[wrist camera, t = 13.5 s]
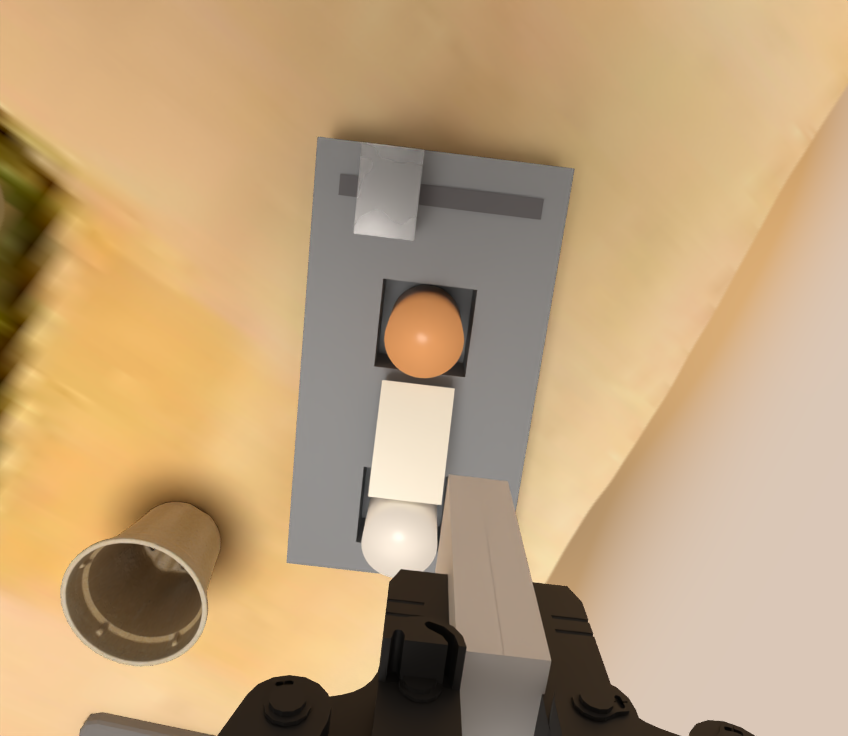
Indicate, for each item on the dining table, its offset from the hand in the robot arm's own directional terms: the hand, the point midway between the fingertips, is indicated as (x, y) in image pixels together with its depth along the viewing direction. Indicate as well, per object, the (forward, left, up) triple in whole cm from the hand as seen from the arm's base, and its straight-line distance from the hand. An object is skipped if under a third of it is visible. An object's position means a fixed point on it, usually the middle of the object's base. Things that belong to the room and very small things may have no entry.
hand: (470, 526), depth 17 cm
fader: (-4, +8, -25) cm, 26 cm away
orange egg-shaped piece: (-2, 0, -28) cm, 28 cm away
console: (-2, -4, -30) cm, 31 cm away
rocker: (-2, -7, -23) cm, 24 cm away
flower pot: (-18, -20, -31) cm, 41 cm away
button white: (-2, -13, -27) cm, 30 cm away
